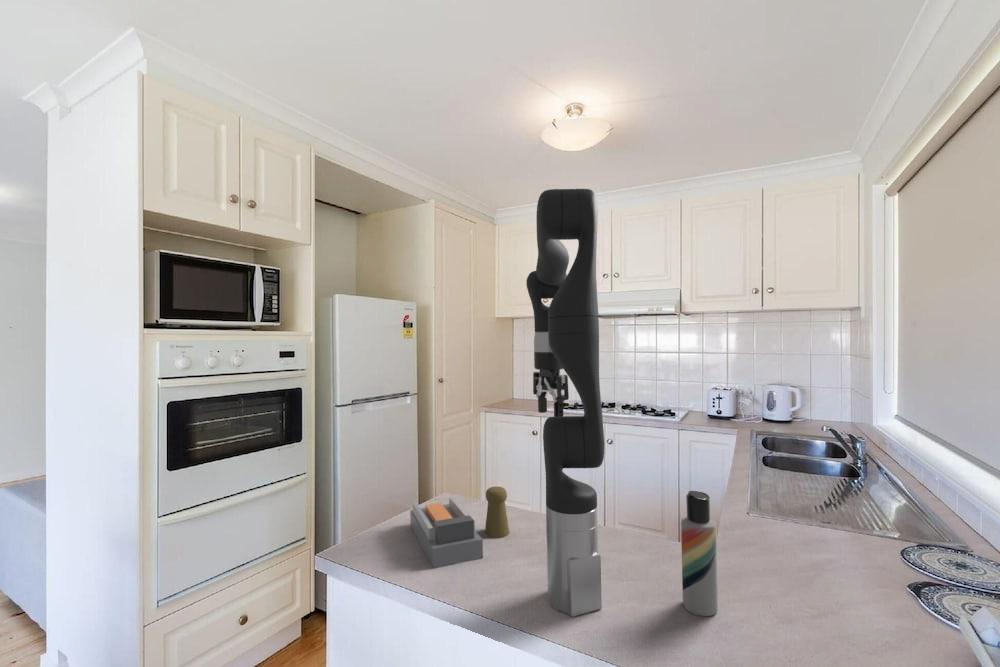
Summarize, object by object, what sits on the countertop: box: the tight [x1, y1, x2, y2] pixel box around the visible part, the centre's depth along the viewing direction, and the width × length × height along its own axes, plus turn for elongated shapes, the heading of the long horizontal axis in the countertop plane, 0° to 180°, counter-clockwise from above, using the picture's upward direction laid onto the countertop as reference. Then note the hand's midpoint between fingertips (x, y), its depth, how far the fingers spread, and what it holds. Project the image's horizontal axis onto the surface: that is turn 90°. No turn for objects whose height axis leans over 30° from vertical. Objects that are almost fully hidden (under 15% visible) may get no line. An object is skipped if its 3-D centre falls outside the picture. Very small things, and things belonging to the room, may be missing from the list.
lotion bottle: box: [680, 490, 719, 617], centre depth 82 cm, size 6×6×20 cm
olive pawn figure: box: [484, 486, 510, 539], centre depth 115 cm, size 6×6×11 cm
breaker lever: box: [424, 502, 452, 523], centre depth 113 cm, size 17×4×1 cm, turn 22°
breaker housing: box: [409, 496, 484, 569], centre depth 111 cm, size 24×11×8 cm, turn 22°
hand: (550, 414), depth 118 cm, fingers open, 8 cm apart
